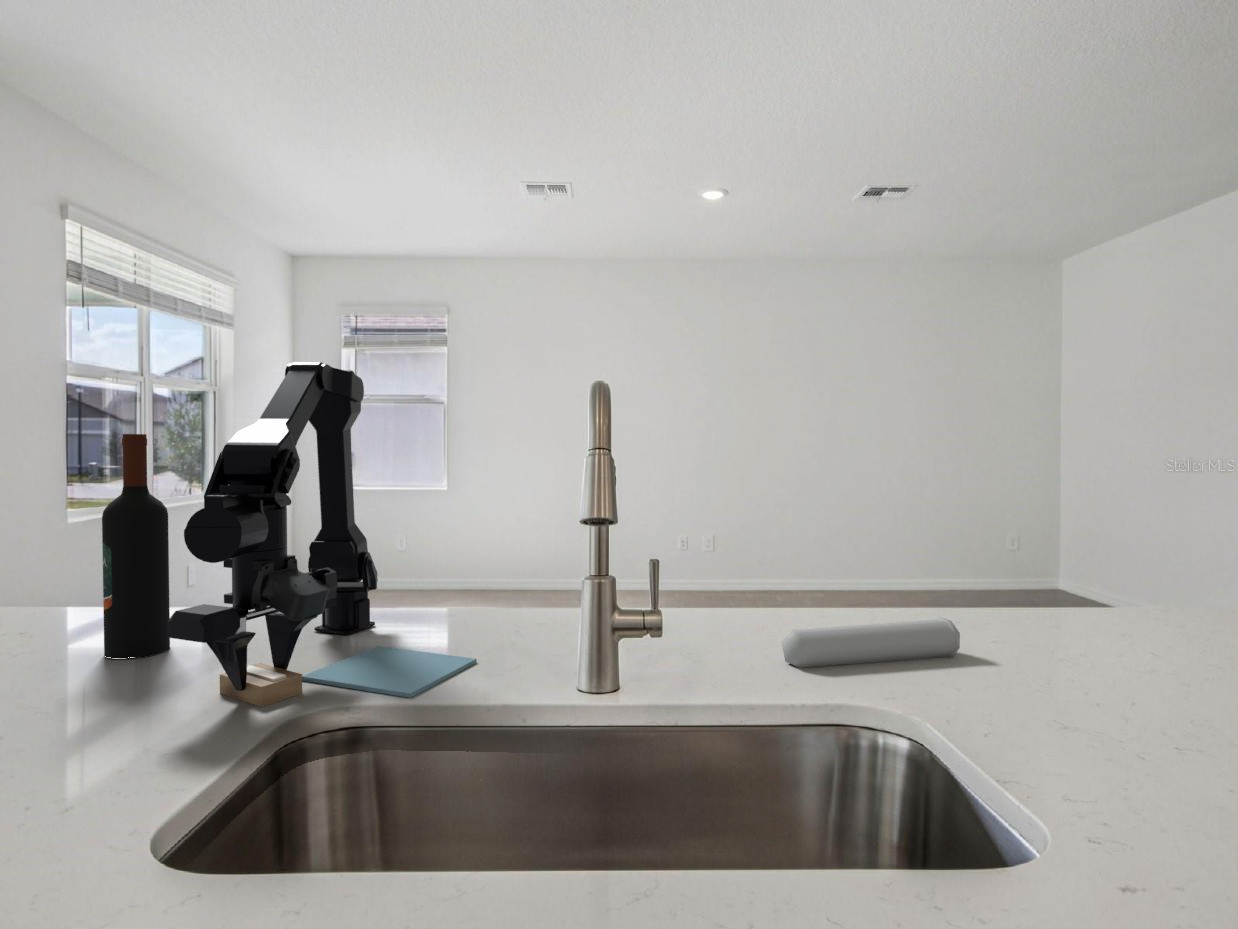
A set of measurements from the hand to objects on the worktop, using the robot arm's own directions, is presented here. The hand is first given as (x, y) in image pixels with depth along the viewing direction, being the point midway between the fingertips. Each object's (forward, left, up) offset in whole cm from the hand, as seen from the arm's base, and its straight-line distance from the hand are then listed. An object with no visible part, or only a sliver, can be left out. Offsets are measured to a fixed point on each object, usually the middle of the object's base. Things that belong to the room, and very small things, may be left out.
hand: (261, 682), depth 82 cm
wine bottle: (-29, +6, -1) cm, 30 cm away
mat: (+9, +12, -1) cm, 15 cm away
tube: (+66, +40, -2) cm, 77 cm away
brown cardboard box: (0, 0, -1) cm, 1 cm away
